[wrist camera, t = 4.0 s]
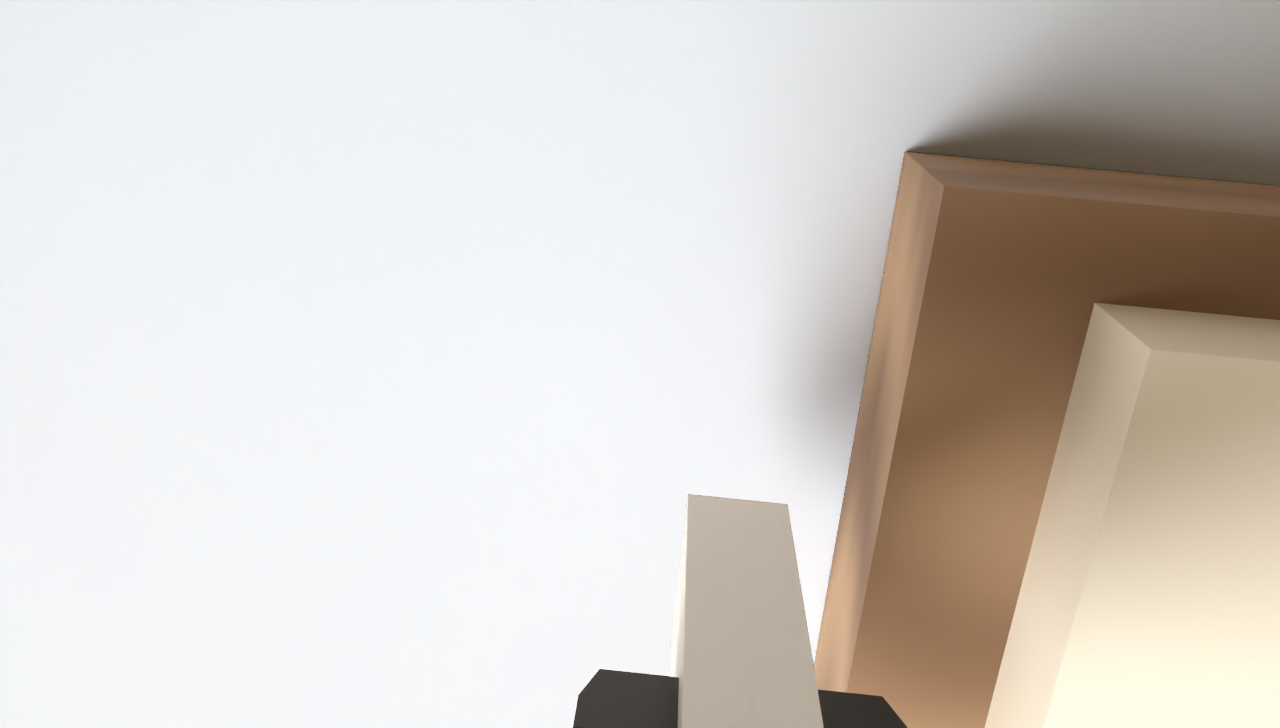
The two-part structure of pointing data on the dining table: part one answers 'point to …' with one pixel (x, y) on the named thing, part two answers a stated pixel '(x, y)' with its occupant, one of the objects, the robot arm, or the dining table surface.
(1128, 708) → the tile
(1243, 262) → the board
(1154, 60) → the dining table surface
